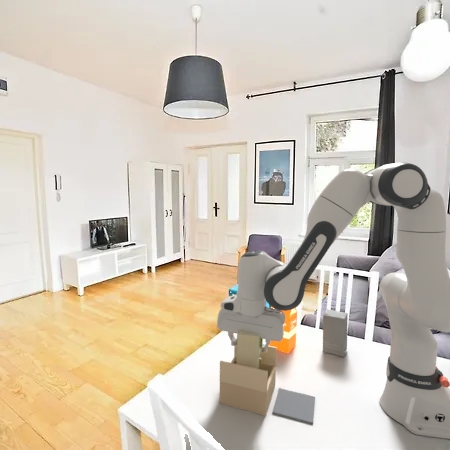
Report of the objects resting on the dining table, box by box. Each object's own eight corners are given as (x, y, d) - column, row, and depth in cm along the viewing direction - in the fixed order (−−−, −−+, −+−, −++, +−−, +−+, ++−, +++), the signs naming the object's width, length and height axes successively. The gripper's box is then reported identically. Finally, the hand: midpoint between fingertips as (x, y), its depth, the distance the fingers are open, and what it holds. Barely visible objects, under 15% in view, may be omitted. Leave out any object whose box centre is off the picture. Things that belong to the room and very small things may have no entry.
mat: (315, 398, 90) (315, 396, 90) (312, 424, 80) (312, 422, 80) (279, 389, 94) (279, 388, 94) (272, 413, 84) (272, 411, 84)
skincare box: (346, 350, 119) (349, 312, 117) (343, 358, 113) (345, 318, 111) (325, 344, 123) (327, 307, 122) (320, 352, 117) (322, 313, 116)
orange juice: (276, 339, 127) (278, 294, 125) (295, 345, 122) (298, 298, 120) (267, 346, 120) (269, 299, 118) (288, 354, 115) (290, 304, 113)
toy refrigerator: (259, 404, 87) (261, 336, 85) (234, 400, 89) (236, 333, 86) (261, 387, 95) (263, 324, 93) (238, 384, 96) (240, 322, 94)
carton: (275, 385, 96) (276, 347, 95) (265, 416, 83) (267, 372, 81) (234, 375, 101) (235, 339, 100) (219, 403, 87) (219, 361, 86)
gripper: (287, 306, 88) (284, 350, 90) (223, 296, 95) (221, 337, 97) (284, 314, 82) (281, 361, 84) (215, 302, 89) (214, 346, 91)
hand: (248, 348), depth 90 cm, fingers open, 8 cm apart
